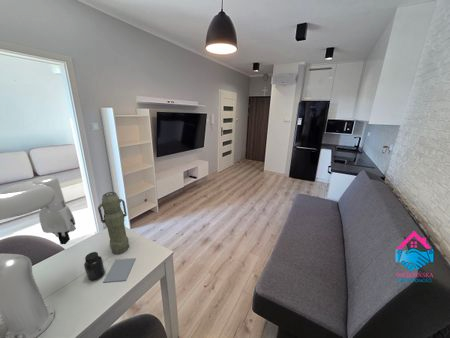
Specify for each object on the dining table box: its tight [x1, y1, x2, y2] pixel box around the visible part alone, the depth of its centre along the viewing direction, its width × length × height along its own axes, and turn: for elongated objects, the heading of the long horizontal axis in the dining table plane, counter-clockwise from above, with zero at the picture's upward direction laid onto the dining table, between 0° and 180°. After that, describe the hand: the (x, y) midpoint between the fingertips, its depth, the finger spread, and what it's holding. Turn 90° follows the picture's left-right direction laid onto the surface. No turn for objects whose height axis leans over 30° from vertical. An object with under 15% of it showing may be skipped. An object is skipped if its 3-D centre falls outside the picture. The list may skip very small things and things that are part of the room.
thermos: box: [97, 191, 130, 256], centre depth 98 cm, size 9×12×35 cm
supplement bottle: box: [83, 251, 106, 282], centre depth 85 cm, size 7×7×12 cm
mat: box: [102, 257, 136, 284], centre depth 90 cm, size 13×10×1 cm
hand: (65, 242), depth 80 cm, fingers closed
